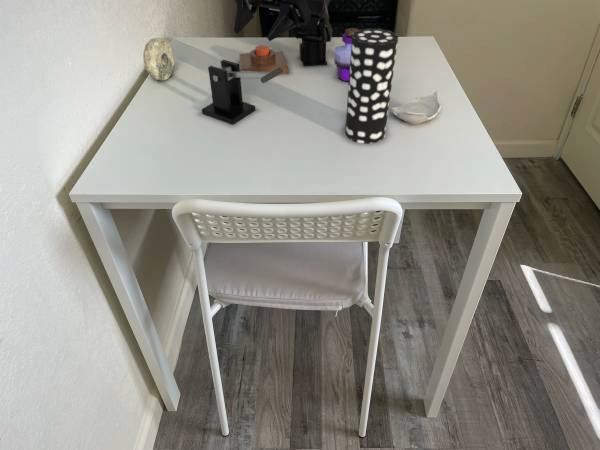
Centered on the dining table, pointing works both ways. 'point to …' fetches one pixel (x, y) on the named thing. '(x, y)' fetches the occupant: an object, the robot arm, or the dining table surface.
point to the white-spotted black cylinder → (370, 84)
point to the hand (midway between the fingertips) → (251, 35)
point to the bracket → (226, 95)
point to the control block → (263, 62)
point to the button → (262, 50)
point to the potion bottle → (344, 55)
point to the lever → (253, 74)
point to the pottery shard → (419, 109)
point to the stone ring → (158, 58)
